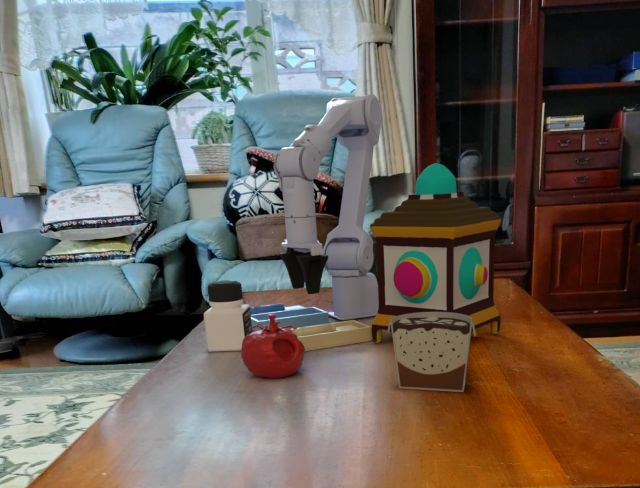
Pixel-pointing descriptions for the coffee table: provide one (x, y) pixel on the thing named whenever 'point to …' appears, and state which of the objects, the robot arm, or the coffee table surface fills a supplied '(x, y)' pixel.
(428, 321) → the food container
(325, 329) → the pale yellow bar
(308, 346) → the cream bin
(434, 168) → the decorative lantern
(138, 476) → the coffee table surface
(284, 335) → the pomegranate
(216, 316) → the medicine bottle
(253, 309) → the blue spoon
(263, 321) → the blue bin
